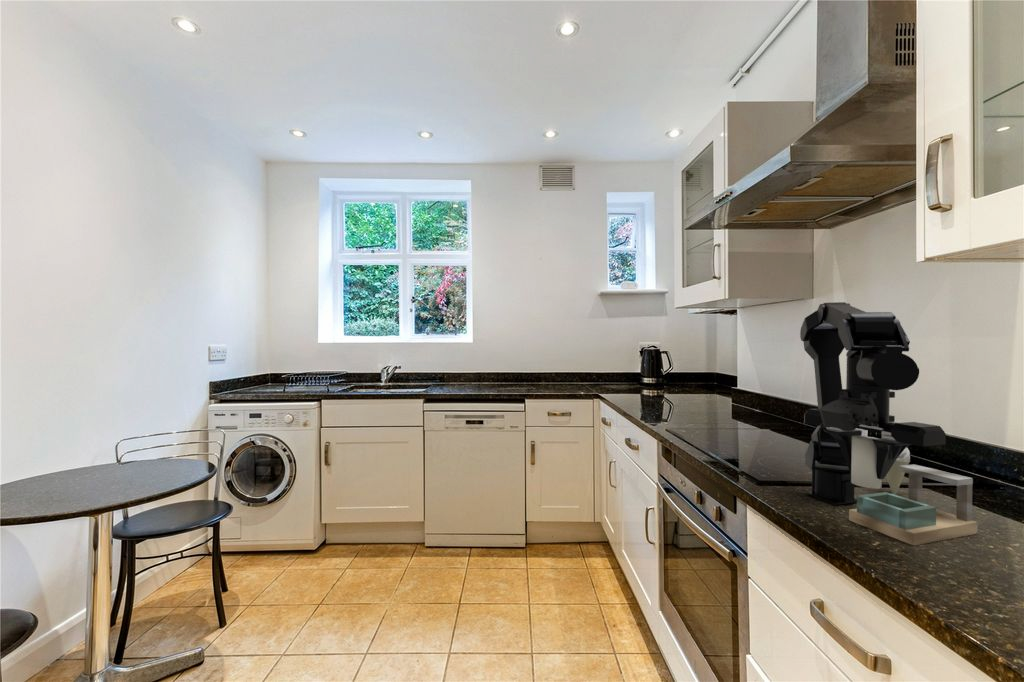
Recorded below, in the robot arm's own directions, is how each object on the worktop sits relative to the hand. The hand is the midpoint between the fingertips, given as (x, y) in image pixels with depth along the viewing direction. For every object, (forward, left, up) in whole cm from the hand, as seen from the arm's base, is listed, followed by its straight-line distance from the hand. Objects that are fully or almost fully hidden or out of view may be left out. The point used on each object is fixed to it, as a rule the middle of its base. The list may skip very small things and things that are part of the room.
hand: (866, 474), depth 72 cm
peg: (0, 0, -2) cm, 2 cm away
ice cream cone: (-12, +28, -11) cm, 32 cm away
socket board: (0, +12, -10) cm, 16 cm away
